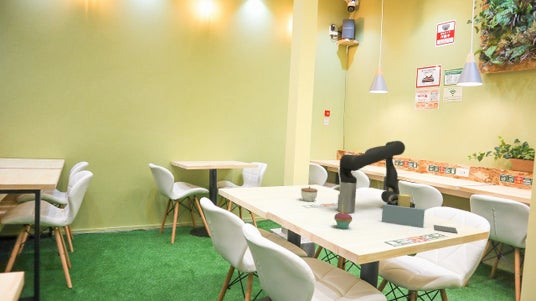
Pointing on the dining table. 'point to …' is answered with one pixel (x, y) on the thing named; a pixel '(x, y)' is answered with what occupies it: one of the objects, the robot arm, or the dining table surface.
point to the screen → (403, 215)
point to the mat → (445, 229)
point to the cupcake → (343, 219)
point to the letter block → (404, 200)
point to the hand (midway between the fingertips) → (403, 207)
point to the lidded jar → (309, 194)
